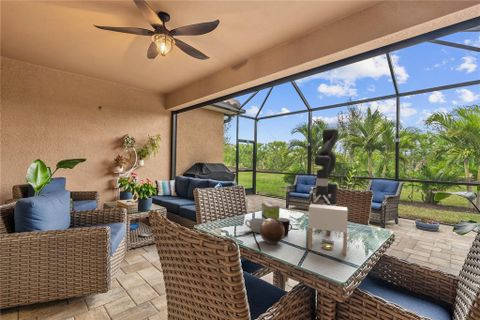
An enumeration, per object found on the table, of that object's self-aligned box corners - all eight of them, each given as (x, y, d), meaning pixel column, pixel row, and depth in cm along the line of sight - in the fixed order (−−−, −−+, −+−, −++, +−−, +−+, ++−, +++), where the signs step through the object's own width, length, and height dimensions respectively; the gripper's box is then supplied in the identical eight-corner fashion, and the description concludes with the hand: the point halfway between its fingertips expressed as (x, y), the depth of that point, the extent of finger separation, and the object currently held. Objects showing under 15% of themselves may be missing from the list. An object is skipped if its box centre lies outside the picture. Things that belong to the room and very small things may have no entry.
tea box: (261, 219, 190) (261, 202, 190) (272, 219, 192) (272, 201, 192) (267, 225, 175) (267, 205, 175) (279, 224, 178) (280, 205, 177)
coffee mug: (275, 232, 158) (275, 217, 158) (287, 232, 159) (287, 217, 159) (279, 238, 147) (280, 222, 147) (292, 238, 147) (293, 222, 147)
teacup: (266, 230, 163) (266, 219, 162) (263, 234, 152) (263, 223, 152) (247, 227, 167) (248, 217, 167) (243, 232, 157) (243, 220, 157)
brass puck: (327, 246, 136) (327, 243, 136) (334, 249, 130) (334, 247, 130) (319, 246, 134) (319, 244, 134) (326, 250, 128) (326, 248, 128)
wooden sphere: (254, 241, 140) (254, 217, 140) (271, 236, 149) (272, 214, 149) (271, 249, 128) (272, 223, 128) (289, 244, 137) (290, 219, 137)
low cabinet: (309, 242, 140) (310, 203, 140) (345, 248, 132) (346, 207, 132) (307, 248, 131) (309, 206, 130) (346, 255, 123) (347, 210, 123)
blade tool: (323, 232, 160) (323, 224, 160) (334, 234, 157) (334, 225, 157) (321, 242, 140) (321, 233, 140) (333, 244, 137) (333, 234, 137)
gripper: (311, 184, 155) (310, 208, 155) (333, 186, 151) (333, 210, 151) (311, 183, 162) (310, 206, 162) (332, 184, 158) (332, 208, 158)
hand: (321, 208), depth 157 cm, fingers open, 8 cm apart
